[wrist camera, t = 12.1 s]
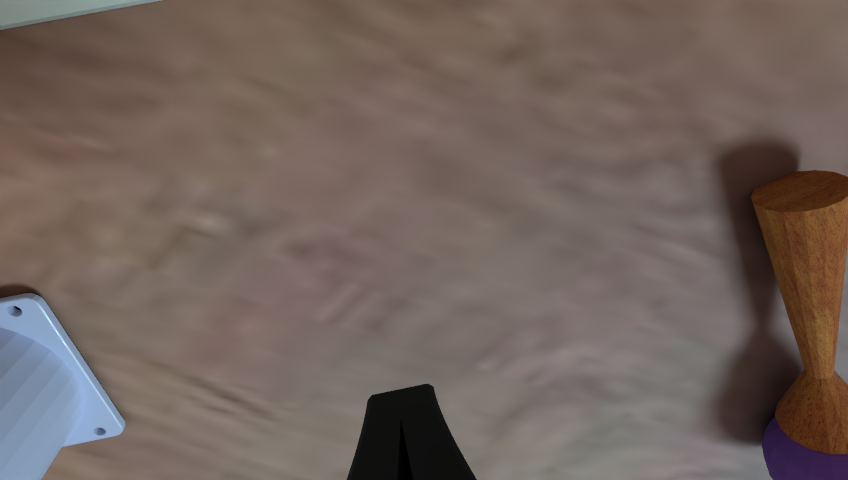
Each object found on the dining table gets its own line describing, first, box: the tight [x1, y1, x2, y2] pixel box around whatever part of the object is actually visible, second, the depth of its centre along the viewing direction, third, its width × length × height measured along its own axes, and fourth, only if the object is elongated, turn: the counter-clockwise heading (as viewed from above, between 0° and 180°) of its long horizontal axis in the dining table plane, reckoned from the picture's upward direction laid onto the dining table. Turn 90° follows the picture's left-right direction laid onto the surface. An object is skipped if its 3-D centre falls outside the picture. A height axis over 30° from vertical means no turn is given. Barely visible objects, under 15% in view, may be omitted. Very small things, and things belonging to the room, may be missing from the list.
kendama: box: [751, 170, 848, 480], centre depth 24 cm, size 6×6×20 cm
